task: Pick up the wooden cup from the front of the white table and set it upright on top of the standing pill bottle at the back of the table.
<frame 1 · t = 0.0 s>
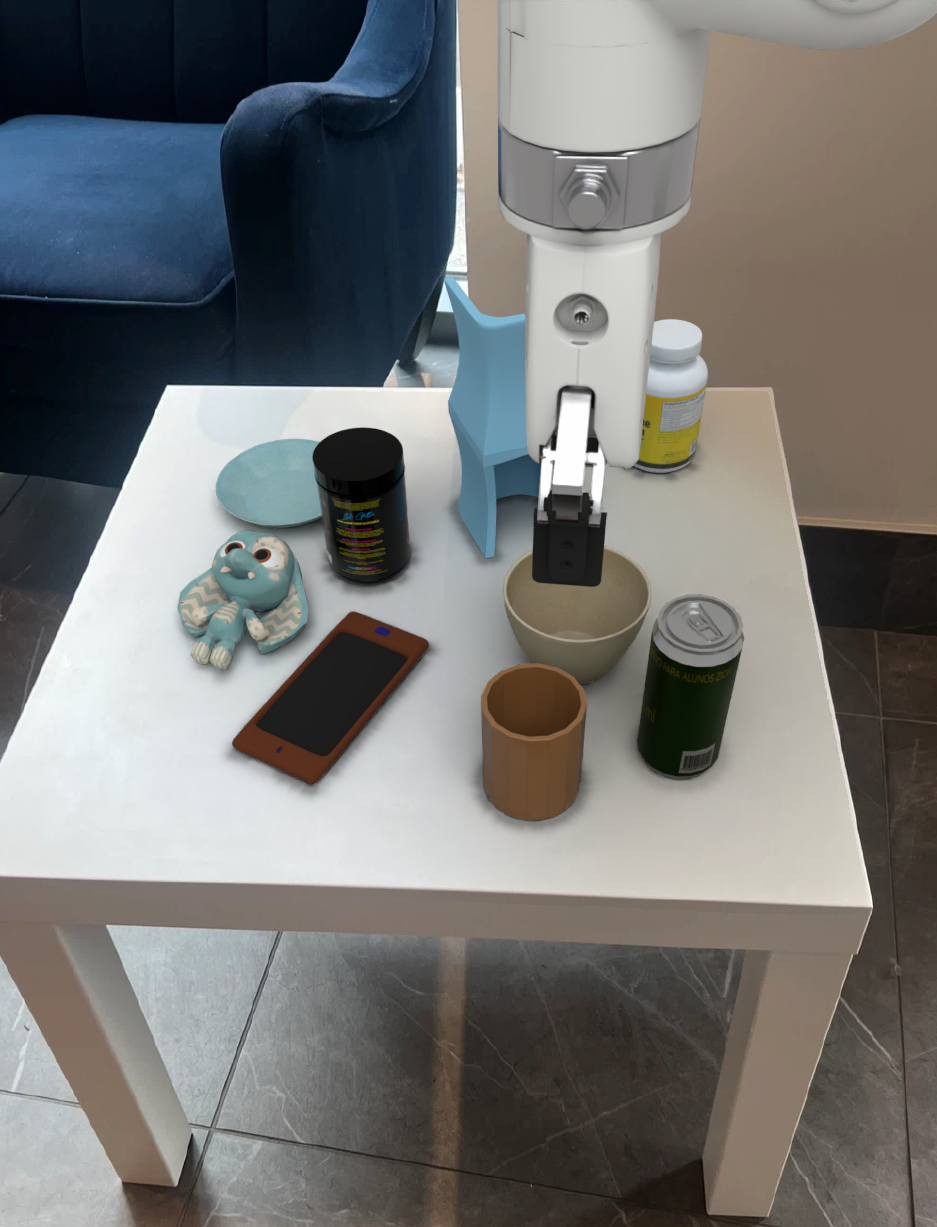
hand: (574, 515, 55), 23 cm above the table, tool pointing down, fingers open, 9 cm apart
wooden cup: (531, 782, 73), on the table
pill bottle: (657, 456, 97), on the table
saucer: (289, 502, 95), on the table
beer can: (676, 753, 74), on the table
smartphone: (335, 698, 79), on the table
supplement container: (370, 563, 89), on the table
stuffed animal: (247, 625, 85), on the table
blue doll chair: (512, 520, 92), on the table
flower pot: (571, 663, 80), on the table
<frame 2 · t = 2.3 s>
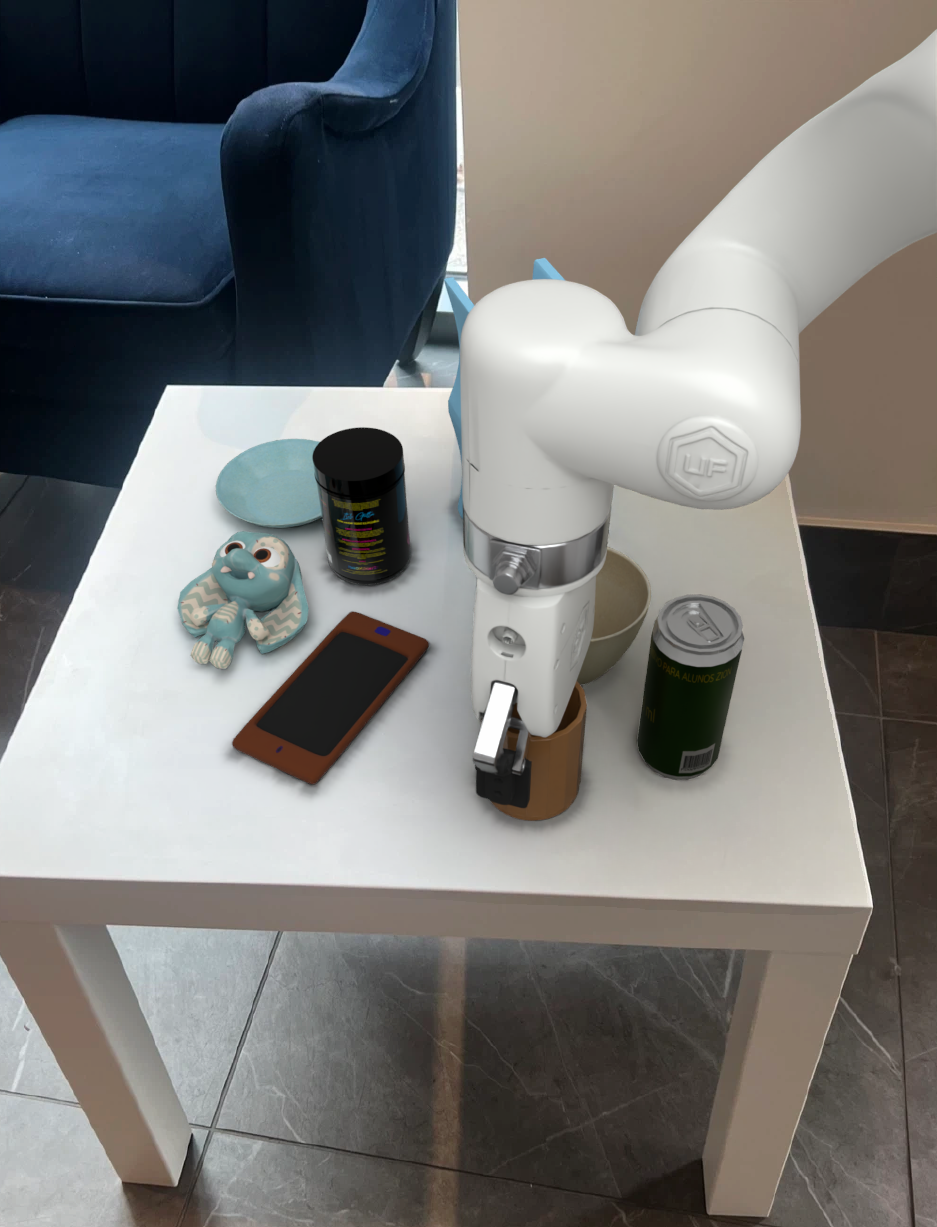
hand: (526, 740, 70), 4 cm above the table, tool pointing down, fingers open, 9 cm apart
flower pot: (571, 663, 80), on the table, touching gripper
everything else where it was.
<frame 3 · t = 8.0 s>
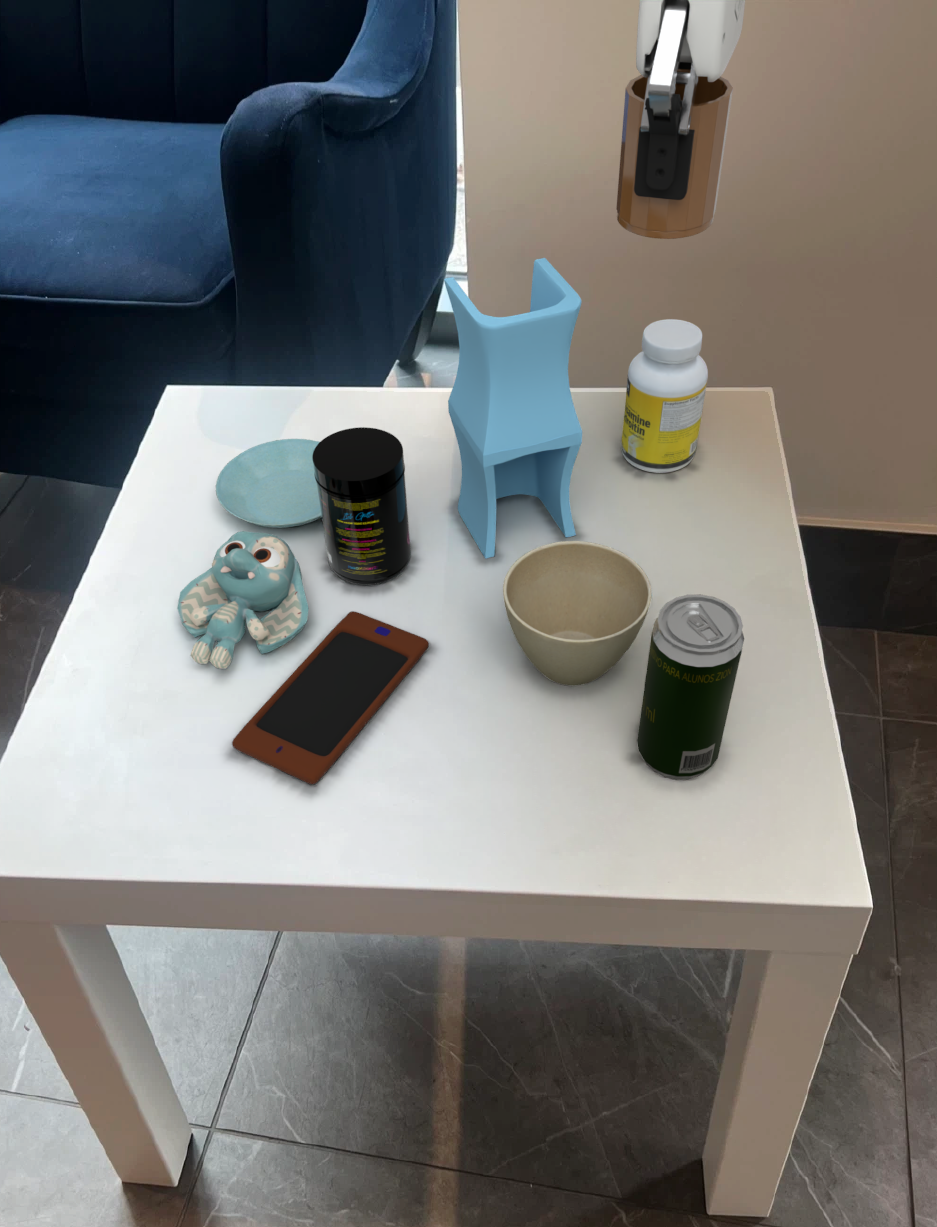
hand: (671, 170, 71), 28 cm above the table, tool pointing down, fingers closed on wooden cup, 6 cm apart
wooden cup: (664, 217, 73), point 25 cm above the table, touching gripper
flower pot: (571, 663, 80), on the table
everything else where it was.
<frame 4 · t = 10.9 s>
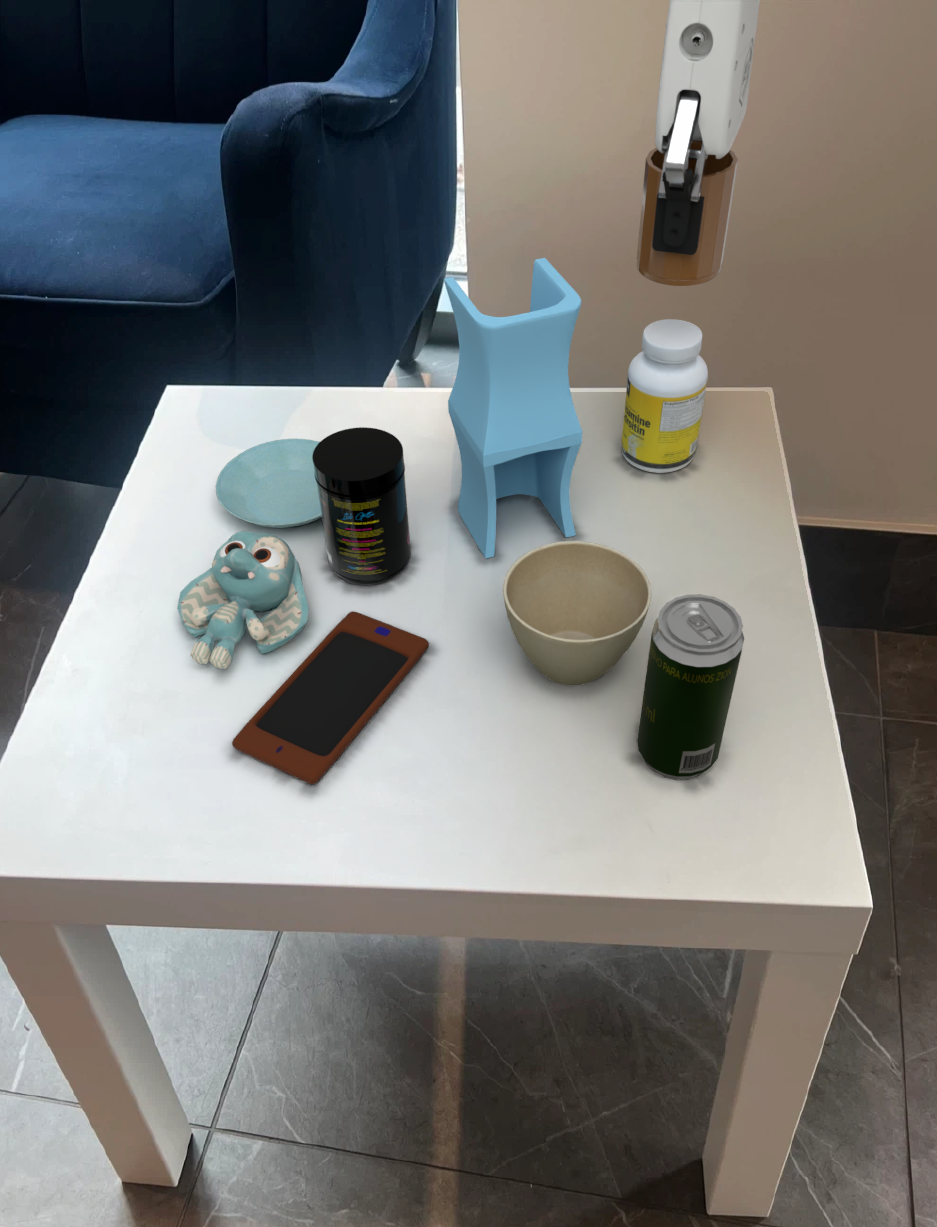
hand: (684, 227, 82), 20 cm above the table, tool pointing down, fingers closed on wooden cup, 6 cm apart
wooden cup: (678, 266, 84), point 17 cm above the table, touching gripper
everything else where it was.
when the fingers open (15 cm above the table, at t = 13.0 s): wooden cup stays where it is, resting on pill bottle.
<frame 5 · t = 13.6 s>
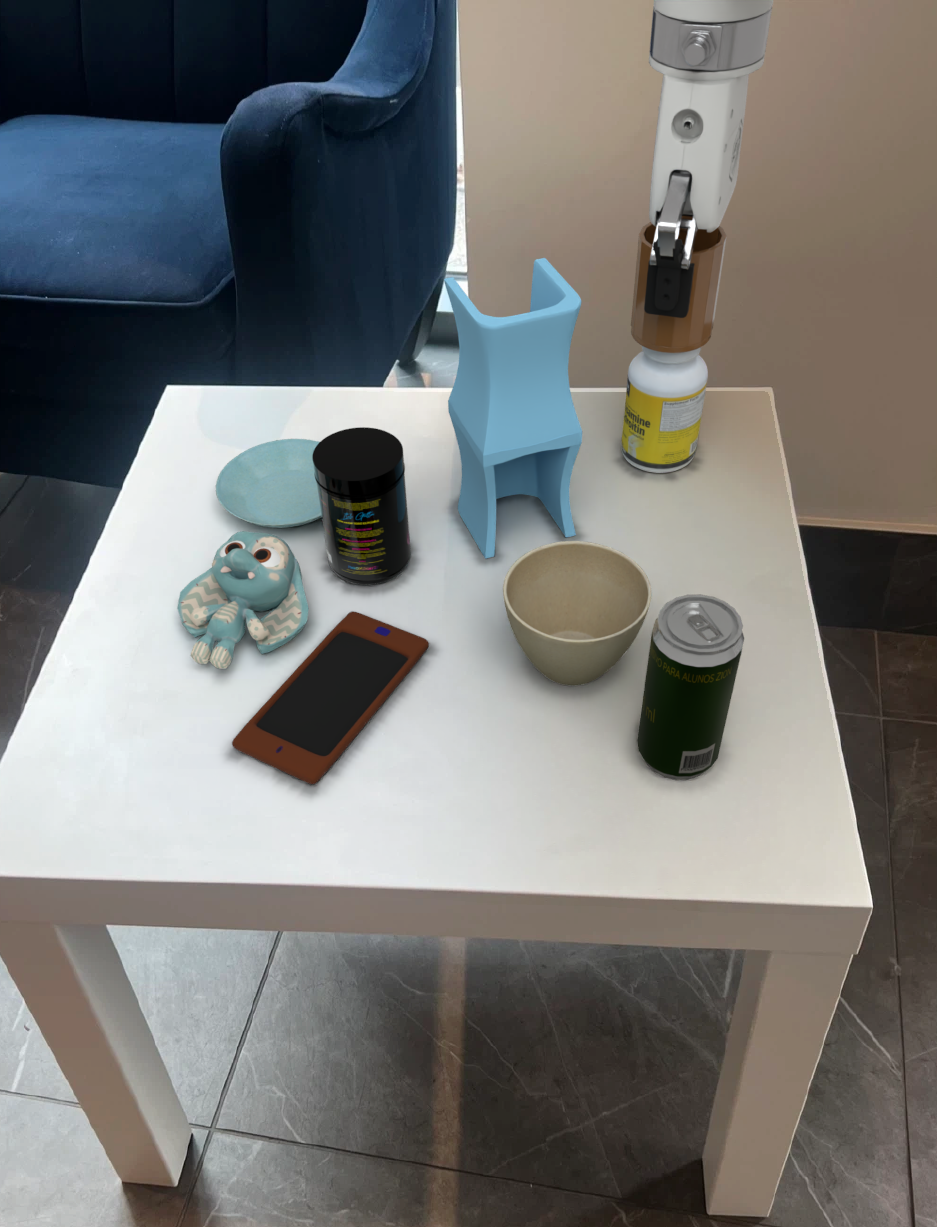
hand: (679, 283, 85), 16 cm above the table, tool pointing down, fingers open, 9 cm apart
wooden cup: (670, 332, 88), point 12 cm above the table, touching pill bottle
pill bottle: (657, 456, 97), on the table, touching wooden cup
everything else where it was.
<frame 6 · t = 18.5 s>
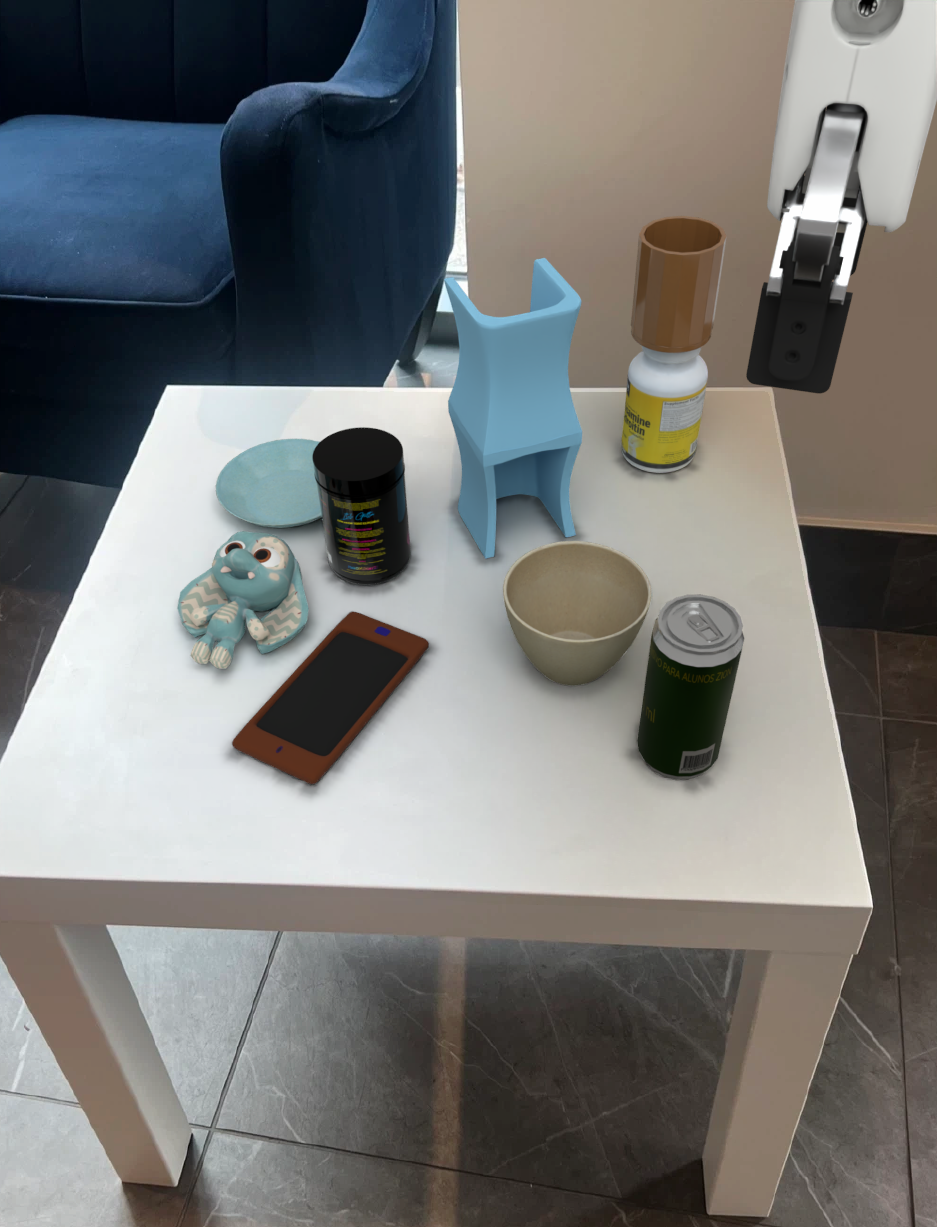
hand: (803, 324, 47), 33 cm above the table, tool pointing down, fingers open, 9 cm apart
nothing on the table moved.
at the end: wooden cup 0.1 cm off-centre on the pill bottle, point 11.8 cm above the pill bottle's base; wooden cup tilted 0°; pill bottle tilted 0° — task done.
